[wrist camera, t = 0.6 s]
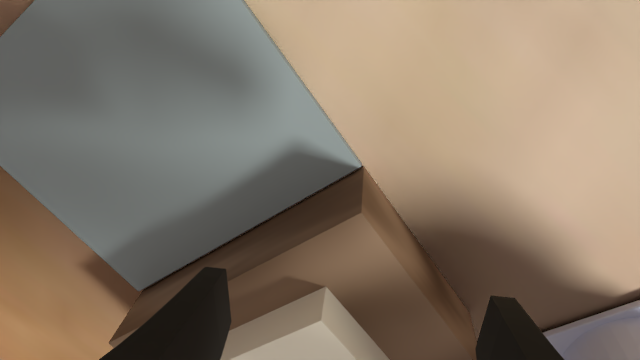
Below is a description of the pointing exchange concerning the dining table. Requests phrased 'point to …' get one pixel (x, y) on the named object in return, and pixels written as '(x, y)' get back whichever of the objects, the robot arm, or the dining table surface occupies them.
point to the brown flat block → (335, 273)
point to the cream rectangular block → (303, 333)
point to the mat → (159, 126)
